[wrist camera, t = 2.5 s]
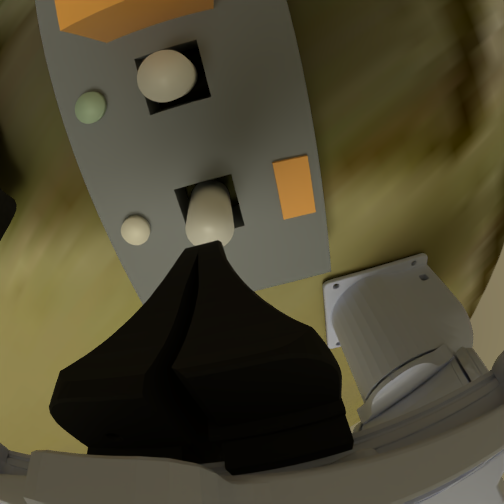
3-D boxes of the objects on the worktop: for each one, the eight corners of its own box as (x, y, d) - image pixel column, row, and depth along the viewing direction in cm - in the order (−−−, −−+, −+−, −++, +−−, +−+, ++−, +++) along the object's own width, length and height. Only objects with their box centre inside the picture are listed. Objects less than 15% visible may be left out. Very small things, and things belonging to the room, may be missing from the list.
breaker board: (250, -69, 10) (258, -94, 7) (317, 247, 21) (333, 275, 19) (56, -7, 10) (29, -18, 7) (154, 286, 22) (148, 319, 19)
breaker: (192, 52, 13) (185, 42, 9) (202, 90, 14) (198, 92, 11) (150, 65, 13) (131, 60, 10) (160, 103, 14) (144, 109, 11)
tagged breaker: (224, 175, 16) (227, 201, 13) (234, 210, 18) (239, 243, 14) (185, 185, 16) (178, 213, 13) (196, 220, 18) (193, 255, 14)
